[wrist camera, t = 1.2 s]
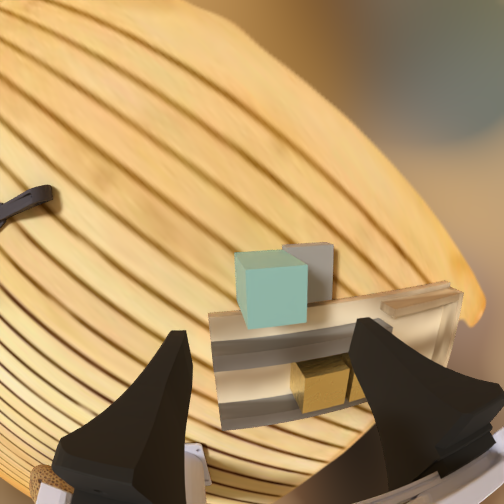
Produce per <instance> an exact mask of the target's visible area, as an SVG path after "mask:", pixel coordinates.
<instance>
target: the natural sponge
mask: <svg viewBox="0 0 504 504" xmlns="http://www.w3.org/2000/svg"><path fill="white" fill-rule="evenodd" d="M41 482H44V483H47V484H49V485H52V486H54V487H57V488H60V489H62V490H65V491H67V492H69V493H71V494H73V493H74V488H73V487H72V486H70V485H69V484H68V483H66V482H65V481H64V480H62V479H61V478H60V477H58V476H57V475H56V474H55V473H54V472H53V470H52V468H51V466H49V465H38V466H36V467H34V468H33V470H32V471H31V475H30V485H29V490H30V494H31V497H32V499H33V501H34V503H35V504H36V501H37V497H38V493H39V489H40V485H41Z"/></svg>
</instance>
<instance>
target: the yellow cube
mask: <svg viewBox="0 0 504 504" xmlns="http://www.w3.org/2000/svg"><path fill="white" fill-rule="evenodd" d="M337 355H338V356H339V357H340V358H341V359H342V360H343V362H344V363H345V364H346V365H347V366H348V367H349V368H350V371H349V378H348V384H347V390H346V395H345V398H346V399H347V400H348V402H351V401H355V400H358V399H361V398H365V395H364V393H363V390H362V388H361V386H360V384H359V382H358V380H357V377H356V375H355V373H354V370H353V367H352V364H351V361H350V357H349V354H348V352H346V353H342V354H337Z"/></svg>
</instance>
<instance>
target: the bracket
mask: <svg viewBox="0 0 504 504" xmlns="http://www.w3.org/2000/svg"><path fill="white" fill-rule="evenodd" d="M50 200H53V198H52V192H51V186H50V185H42V186H38V187H34V188H31V189H29V190H27V191H25V192H24V193H22V194H20V195H18V196H17V197H15V198H13V199H11V200H10V201H8V202H6V203H4V204H3V203H0V228H1V226H2V225H3V224H4V223H5V222H6V219H7V218H9V217H11V216H13V215H16V214H18V213H20V212H23V211H25V210H27V209H30V208H32V207H35V206H37V205H40V204H42V203H45V202H48V201H50Z"/></svg>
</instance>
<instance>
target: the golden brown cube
mask: <svg viewBox="0 0 504 504" xmlns="http://www.w3.org/2000/svg"><path fill="white" fill-rule="evenodd" d="M349 371H350V368H349V367H348V366H347V365H346V364H345V363H344V362H343V360H342V359H341V358H340V357H339V356H338V355H332V356H327V357H322V358H317V359H311V360H306V361H300V362H294V363H291V369H290V390H291V392H292V394H293V396H294V398H295V400H296V402H297V404H298V406H299V408H300V410H301V412H302V414H303V413H308V412H312V411H316V410H321V409H325V408H329V407H333V406H337V405H341V404H344V401H345V395H346V390H347V384H348V378H349Z"/></svg>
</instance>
